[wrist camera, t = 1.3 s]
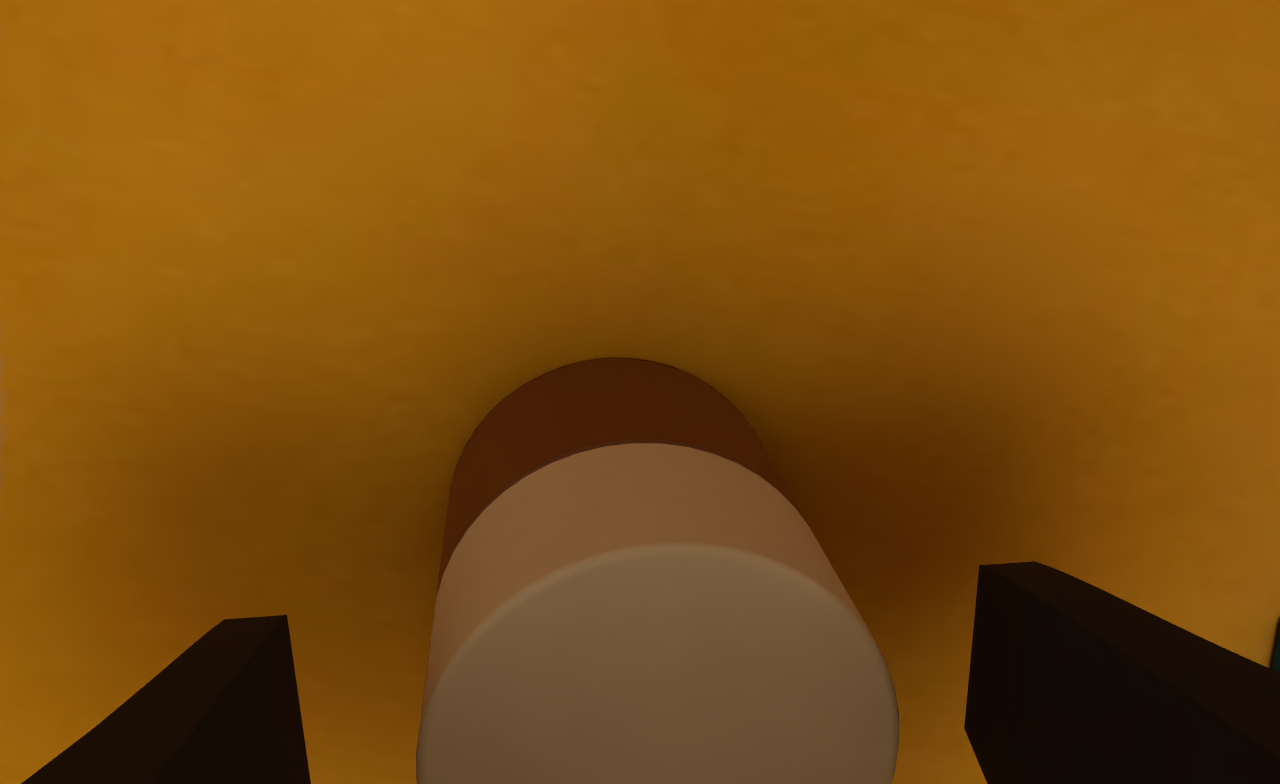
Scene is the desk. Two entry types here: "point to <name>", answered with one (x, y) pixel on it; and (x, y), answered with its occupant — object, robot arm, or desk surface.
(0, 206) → the desk surface
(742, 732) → the two-tone cylinder
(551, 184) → the desk surface
